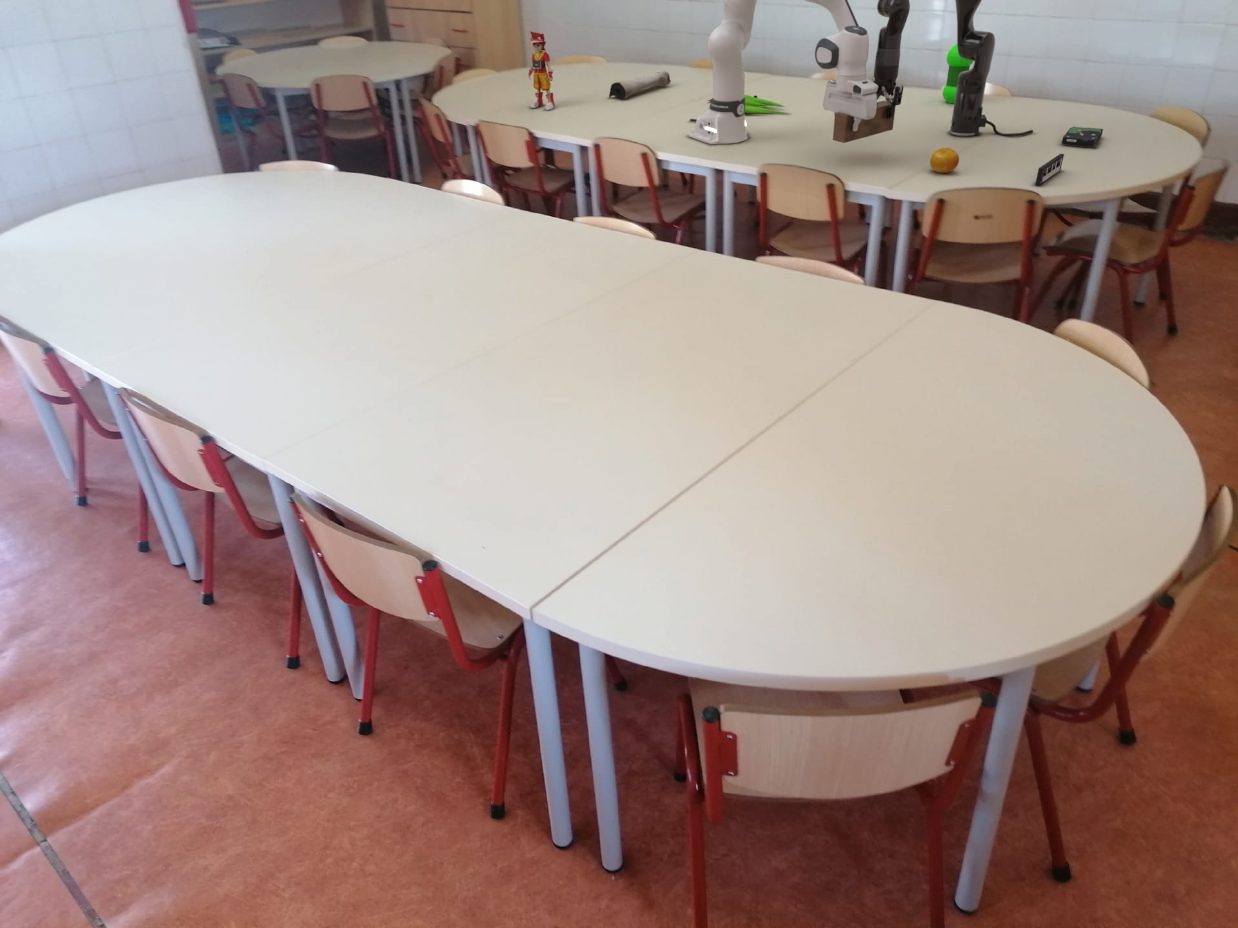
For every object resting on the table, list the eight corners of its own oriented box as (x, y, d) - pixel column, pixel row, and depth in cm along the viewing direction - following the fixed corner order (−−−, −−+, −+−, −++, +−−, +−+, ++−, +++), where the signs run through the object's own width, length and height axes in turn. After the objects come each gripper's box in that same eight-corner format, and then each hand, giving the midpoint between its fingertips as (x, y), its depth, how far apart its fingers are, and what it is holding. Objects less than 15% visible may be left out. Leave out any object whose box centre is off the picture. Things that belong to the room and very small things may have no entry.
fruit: (924, 163, 281) (941, 140, 278) (925, 165, 289) (941, 143, 286) (946, 178, 280) (963, 155, 277) (947, 180, 288) (963, 158, 285)
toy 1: (525, 109, 381) (517, 32, 364) (534, 104, 388) (527, 28, 371) (550, 110, 377) (543, 32, 360) (559, 105, 384) (553, 28, 367)
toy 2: (703, 112, 356) (773, 124, 344) (705, 98, 354) (775, 110, 341) (734, 102, 377) (800, 113, 364) (735, 89, 374) (802, 100, 361)
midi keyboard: (1039, 185, 269) (1043, 168, 266) (1035, 184, 270) (1038, 168, 267) (1060, 170, 279) (1064, 154, 277) (1056, 169, 280) (1060, 153, 277)
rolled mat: (651, 76, 408) (662, 61, 399) (662, 93, 408) (674, 79, 400) (605, 92, 391) (616, 77, 383) (617, 110, 391) (628, 95, 383)
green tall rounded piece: (973, 101, 354) (984, 32, 339) (955, 106, 349) (966, 36, 335) (952, 97, 361) (962, 29, 346) (934, 102, 356) (944, 33, 342)
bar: (881, 126, 302) (884, 100, 297) (892, 129, 299) (895, 103, 294) (832, 140, 293) (834, 113, 288) (844, 143, 289) (846, 116, 284)
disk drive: (1094, 148, 296) (1101, 136, 306) (1096, 140, 295) (1103, 128, 305) (1060, 145, 301) (1068, 133, 311) (1062, 137, 299) (1070, 125, 309)
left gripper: (820, 80, 288) (816, 124, 296) (867, 90, 274) (862, 136, 282) (834, 77, 291) (830, 121, 299) (882, 87, 277) (876, 133, 285)
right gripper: (862, 61, 290) (857, 114, 300) (896, 67, 280) (889, 122, 290) (878, 57, 294) (873, 110, 303) (912, 63, 283) (905, 118, 293)
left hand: (846, 129), depth 290 cm, fingers closed on bar, 5 cm apart
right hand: (881, 116), depth 296 cm, fingers open, 6 cm apart
